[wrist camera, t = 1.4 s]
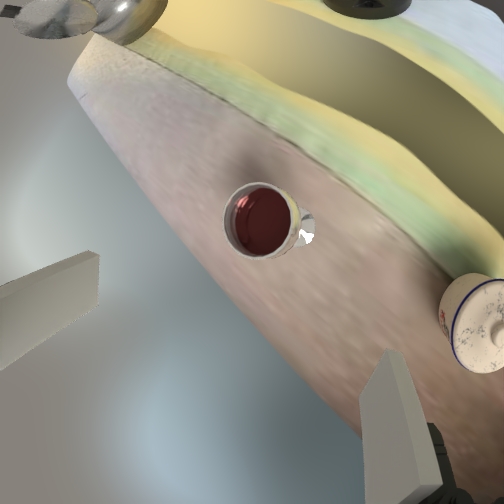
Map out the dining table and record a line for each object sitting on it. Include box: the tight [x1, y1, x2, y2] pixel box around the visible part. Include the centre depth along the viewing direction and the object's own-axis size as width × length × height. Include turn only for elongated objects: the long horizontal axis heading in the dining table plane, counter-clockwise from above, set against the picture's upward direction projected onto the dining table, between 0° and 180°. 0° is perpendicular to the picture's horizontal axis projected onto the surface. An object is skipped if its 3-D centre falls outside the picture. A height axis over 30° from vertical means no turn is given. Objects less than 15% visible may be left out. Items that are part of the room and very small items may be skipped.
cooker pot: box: [90, 0, 168, 46], centre depth 43 cm, size 17×26×12 cm, turn 81°
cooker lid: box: [0, 0, 98, 39], centre depth 30 cm, size 22×18×1 cm
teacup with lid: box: [439, 273, 504, 373], centre depth 21 cm, size 12×9×12 cm
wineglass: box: [222, 182, 316, 260], centre depth 31 cm, size 7×7×12 cm
